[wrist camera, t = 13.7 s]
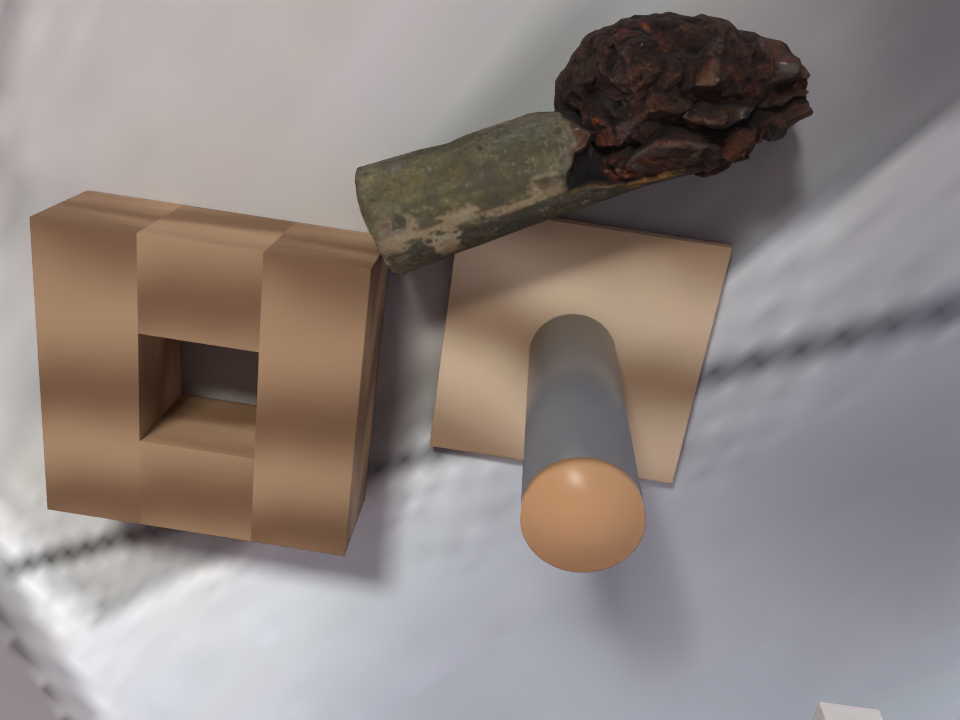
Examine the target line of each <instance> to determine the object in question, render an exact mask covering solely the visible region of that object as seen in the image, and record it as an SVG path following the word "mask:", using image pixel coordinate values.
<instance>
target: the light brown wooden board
mask: <svg viewBox="0 0 960 720" xmlns="http://www.w3.org/2000/svg"><path fill="white" fill-rule="evenodd" d="M731 251H732V247H731V246H730V244H723V243H717V242H710V241H704V240H697V239H691V238H684V237H677V236H671V235H664V234H658V233H651V232H645V231H638V230H631V229H625V228H618V227H612V226H605V225H599V224H592V223H585V222H579V221H572V220H566V219H559V218H552V219H549V220H546V221H544V222H541V223H538V224H536V225H533V226H530V227H527V228H525V229H522V230H519V231H517V232H514V233H511V234H509V235H506V236H503V237H501V238H498V239H496V240H493V241H490V242H488V243H485V244H482V245H479V246H476V247H474V248H471V249H468V250H465V251H462V252H459V253H457V254H455V255H454V263H453V270H452V278H451V286H450V293H449V301H448V309H447V316H446V324H445V332H444V339H443V347H442V355H441V363H440V370H439V378H438V386H437V393H436V401H435V409H434V416H433V424H432V432H431V439H430V446H435V447H441V448H448V449H454V450H461V451H467V452H473V453H480V454H486V455H493V456H499V457H505V458H512V459H518V460H523V458H524V439H525V420H526V402H527V383H528V364H529V349H530V344H531V341H532V339H533V337H534V335H535V333H536V332H537V331H538V329H539V328H540V327H541V326H542V325H543V324H545V323H546V322H547V321H549V320H551V319H553V318H555V317H558V316H561V315H566V314H580V315H585V316H588V317H591V318H593V319H595V320H597V321H598V322H599V323H601V324H602V325H603V326H604V327H605V328H606V329H607V330H608V331H609V333H610V335H611V336H612V339H613V341H614V344H615V349H616V355H617V360H618V366H619V371H620V377H621V382H622V388H623V393H624V399H625V405H626V410H627V416H628V421H629V427H630V432H631V438H632V443H633V449H634V455H635V460H636V466H637V471H638V477H639V478H640V479H647V480H653V481H660V482H666V483H672V482H673V478H674V474H675V470H676V466H677V462H678V458H679V455H680V451H681V447H682V443H683V439H684V435H685V431H686V427H687V423H688V419H689V415H690V411H691V408H692V404H693V400H694V396H695V392H696V388H697V384H698V380H699V376H700V372H701V368H702V365H703V361H704V357H705V353H706V349H707V345H708V341H709V337H710V333H711V329H712V325H713V321H714V318H715V314H716V310H717V306H718V302H719V298H720V294H721V290H722V286H723V282H724V278H725V274H726V271H727V267H728V263H729V259H730V255H731Z"/></svg>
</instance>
